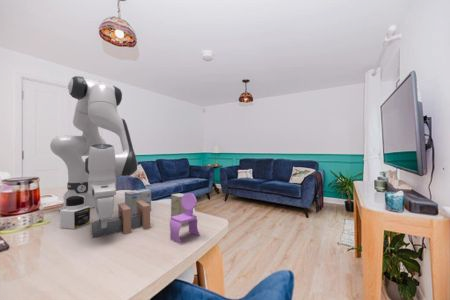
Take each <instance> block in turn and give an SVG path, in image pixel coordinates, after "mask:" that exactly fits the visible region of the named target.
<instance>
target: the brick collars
mask: <svg viewBox="0 0 450 300" xmlns="http://www.w3.org/2000/svg"><path fill="white" fill-rule="evenodd" d="M117 212H118V214H117V215H118V216H117V217H121V216H123V231H122V234H123V235H126V234H131V233H132V229H131V208H129V207H128V206H127V205H126V204H125V202H122V203H118V205H117ZM137 213H142V227H141V228H142V229H143V230H147V229H150V228H151V211H150V205H149V204H147V203H146V202H144V201H143V200H140V201H136V214H137Z"/></svg>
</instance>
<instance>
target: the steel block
mask: <svg viewBox="0 0 450 300" xmlns="http://www.w3.org/2000/svg"><path fill="white" fill-rule="evenodd" d="M139 228H142V213H137V214H132V215H131V230H134V229H139ZM121 232H123V216H121V217H118V216H117V217H112V218H110V219H108V220H107V227H106V228H101V220H100V221H99V220H95V221H91V237H92V239H94V238H95V239H96V238H99V237H104V236H108V235H112V234H117V233H121Z"/></svg>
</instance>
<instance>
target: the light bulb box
mask: <svg viewBox="0 0 450 300" xmlns="http://www.w3.org/2000/svg"><path fill="white" fill-rule="evenodd" d="M140 200H143V201H144V202H146V203H147V204H149V205H150V212H151V211H152V189H148V188H141V189H134V190H131V191H130V190H129V191H125V192H124V203H125V204H126V205H127V206H128V207H129V208H131V215H132V214H136V201H140Z"/></svg>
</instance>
